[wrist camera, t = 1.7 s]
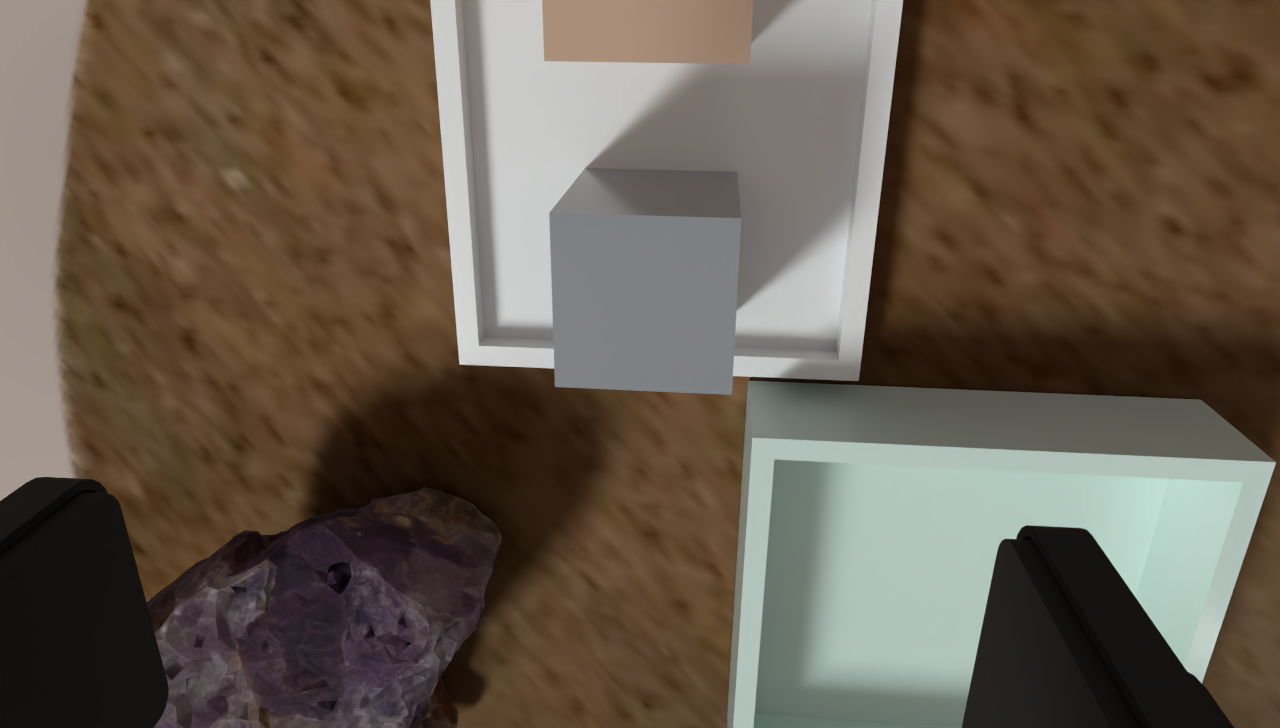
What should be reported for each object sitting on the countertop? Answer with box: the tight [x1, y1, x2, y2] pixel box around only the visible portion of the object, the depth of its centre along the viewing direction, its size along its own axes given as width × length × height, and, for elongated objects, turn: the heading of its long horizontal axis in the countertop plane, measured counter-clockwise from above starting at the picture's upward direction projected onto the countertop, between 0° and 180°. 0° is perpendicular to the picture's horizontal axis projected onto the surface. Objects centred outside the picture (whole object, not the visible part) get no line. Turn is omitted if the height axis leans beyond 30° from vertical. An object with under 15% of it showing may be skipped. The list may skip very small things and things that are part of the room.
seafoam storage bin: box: [728, 381, 1276, 728], centre depth 26 cm, size 13×13×4 cm
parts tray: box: [430, 0, 903, 381], centre depth 22 cm, size 11×14×1 cm
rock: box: [147, 487, 502, 728], centre depth 26 cm, size 12×9×10 cm
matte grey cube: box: [549, 168, 741, 395], centre depth 21 cm, size 4×4×5 cm
